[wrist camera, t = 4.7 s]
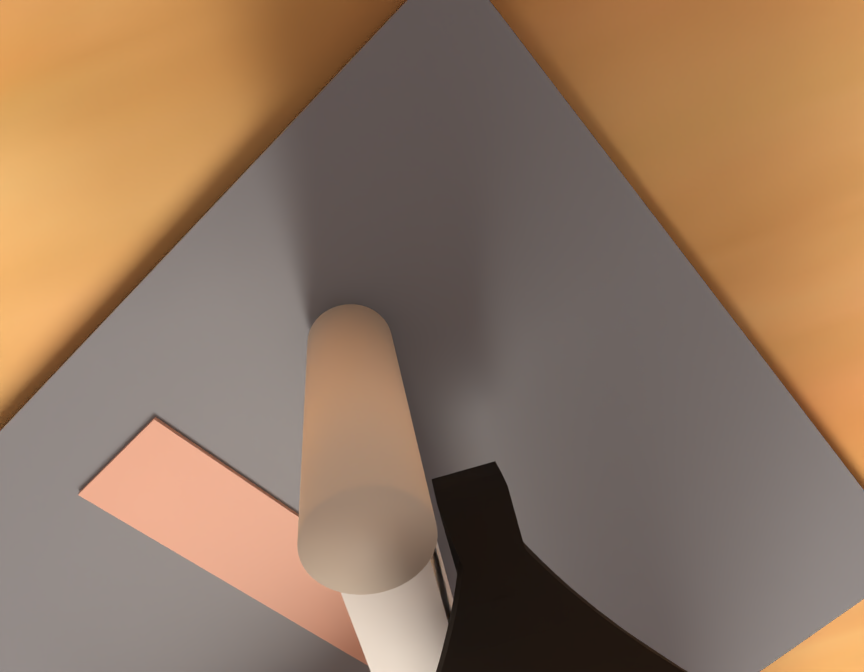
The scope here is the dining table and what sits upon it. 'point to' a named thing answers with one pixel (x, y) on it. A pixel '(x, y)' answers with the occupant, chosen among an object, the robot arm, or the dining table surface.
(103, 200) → the dining table surface
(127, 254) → the dining table surface
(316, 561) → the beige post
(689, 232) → the dining table surface
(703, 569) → the card
